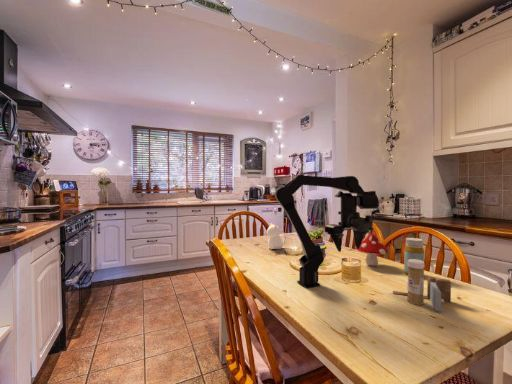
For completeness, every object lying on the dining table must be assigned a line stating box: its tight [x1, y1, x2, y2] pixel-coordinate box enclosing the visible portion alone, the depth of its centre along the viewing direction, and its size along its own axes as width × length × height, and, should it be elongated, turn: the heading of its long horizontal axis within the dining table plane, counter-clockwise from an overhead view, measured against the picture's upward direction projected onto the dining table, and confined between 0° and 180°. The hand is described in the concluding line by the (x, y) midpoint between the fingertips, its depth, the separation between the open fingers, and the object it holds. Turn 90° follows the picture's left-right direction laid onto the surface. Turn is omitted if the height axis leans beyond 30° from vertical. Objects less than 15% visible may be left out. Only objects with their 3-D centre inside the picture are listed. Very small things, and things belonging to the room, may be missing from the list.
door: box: [429, 282, 445, 313], centre depth 78 cm, size 9×2×6 cm, turn 155°
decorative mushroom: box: [355, 233, 389, 267], centre depth 119 cm, size 14×14×15 cm
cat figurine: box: [266, 222, 287, 250], centre depth 151 cm, size 9×12×15 cm
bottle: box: [403, 237, 425, 276], centre depth 107 cm, size 7×7×15 cm
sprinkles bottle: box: [407, 259, 425, 306], centre depth 81 cm, size 5×5×14 cm
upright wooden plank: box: [392, 276, 452, 303], centre depth 85 cm, size 16×2×7 cm, turn 65°
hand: (348, 250), depth 96 cm, fingers open, 9 cm apart
